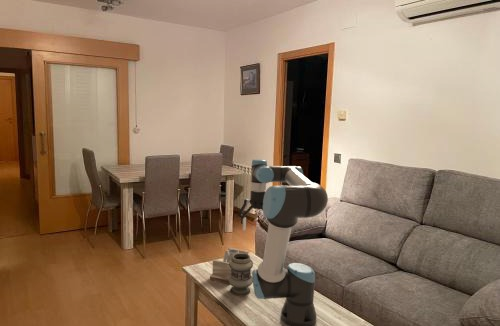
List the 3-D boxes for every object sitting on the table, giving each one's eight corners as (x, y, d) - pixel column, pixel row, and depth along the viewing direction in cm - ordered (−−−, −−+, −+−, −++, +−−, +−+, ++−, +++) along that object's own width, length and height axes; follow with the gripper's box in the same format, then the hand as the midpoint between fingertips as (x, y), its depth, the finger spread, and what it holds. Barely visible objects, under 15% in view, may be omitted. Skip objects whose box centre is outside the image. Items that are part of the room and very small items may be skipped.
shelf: (230, 284, 181) (231, 266, 180) (209, 279, 185) (210, 262, 184) (249, 265, 205) (250, 249, 204) (230, 261, 209) (231, 245, 208)
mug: (242, 267, 198) (243, 247, 196) (228, 274, 188) (229, 253, 187) (231, 264, 202) (232, 243, 201) (217, 270, 193) (218, 249, 191)
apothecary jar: (223, 289, 176) (224, 254, 173) (242, 282, 183) (243, 249, 181) (237, 299, 166) (239, 263, 164) (257, 292, 174) (259, 257, 172)
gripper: (284, 191, 175) (282, 233, 177) (237, 187, 184) (236, 227, 186) (280, 194, 168) (278, 237, 170) (232, 189, 176) (230, 231, 179)
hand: (256, 232), depth 178 cm, fingers open, 13 cm apart
